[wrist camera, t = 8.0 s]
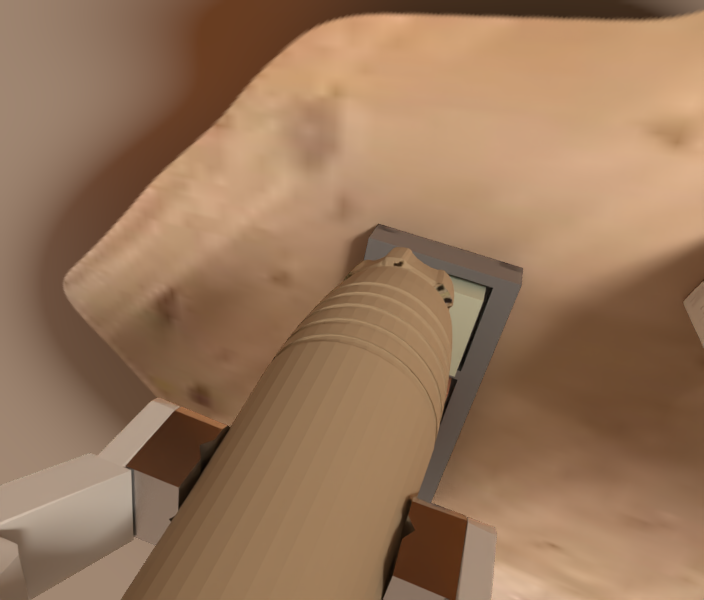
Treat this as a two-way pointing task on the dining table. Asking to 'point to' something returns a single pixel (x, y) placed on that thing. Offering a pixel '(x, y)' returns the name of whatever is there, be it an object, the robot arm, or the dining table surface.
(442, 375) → the handle
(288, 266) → the dining table surface
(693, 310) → the supplement box
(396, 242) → the keypad
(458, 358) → the key sage
